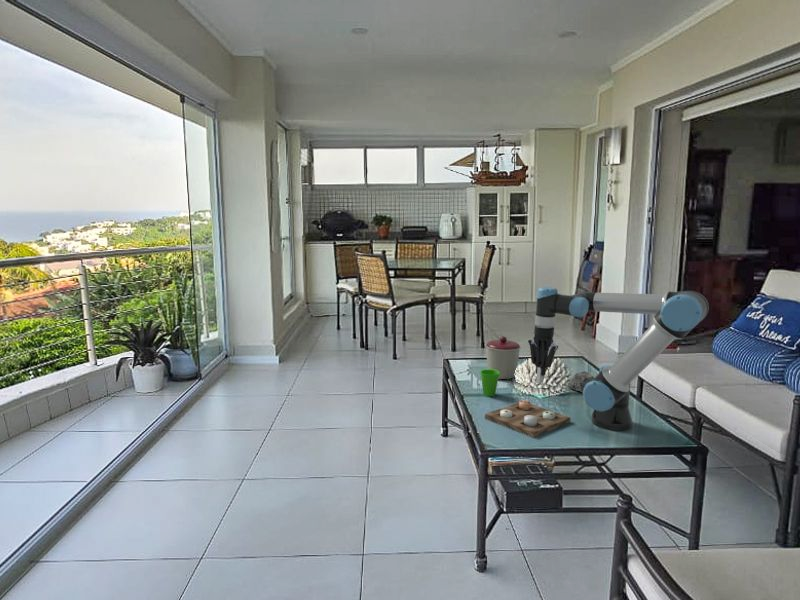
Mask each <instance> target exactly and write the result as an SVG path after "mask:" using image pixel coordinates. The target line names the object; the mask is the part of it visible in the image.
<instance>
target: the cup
mask: <svg viewBox="0 0 800 600" xmlns="http://www.w3.org/2000/svg"><path fill="white" fill-rule="evenodd" d="M479 373H480V378H481V383H482V391H483V392H482V393H483V395H485V397H487V396H493V397H494V396H495V395H496V391H497V386H498V381H499V379H498V377H499V374H500V372H499V371H497V370H493V369H488V368H484V369H480V371H479Z"/></svg>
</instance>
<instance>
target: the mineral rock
mask: <svg viewBox="0 0 800 600" xmlns="http://www.w3.org/2000/svg"><path fill="white" fill-rule="evenodd" d="M569 378H570V381H569V383H568V386H567V387H568V388H569V389H571V390H574V391H577V392H580V393H583V389H584V387H585V386H586V384H587V383H588V382H590V381H592V380H593V379H594V378H595V377H594V375H593V374H589V373H588V371H586V370H583V371H580V372H577V373H575V374H574V376H571V377H569Z"/></svg>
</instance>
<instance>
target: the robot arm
mask: <svg viewBox="0 0 800 600" xmlns="http://www.w3.org/2000/svg"><path fill="white" fill-rule="evenodd" d="M709 307H710V306H709V302H708V300H707V298H706V297H705V296H704V295H703V294H701V293H700V292H697V291H693V290H684V291H683V290H682V291H667V292H666V293H665V294H664V293H663V294H661V293H660V294H659V293H628V292H627V293H625V292H594V291H589V290H585V291H580V292H578V293H575V294H571V295H567V294H562V293H561V294H560V293H558V289H557V288H556V287H552V286H541V287H539V288H538V290H537V297H536V305H535V308H536V309H535V317H534V329H533V330H534V332H533V334H534V336H533V338H532V339H528V340H527V342H528V344H529V349H530V351H529V352H530V357H531V359H530V360H531V364H533V365H534V366H535V375H536V380H535V381H536V384H542V383H544V378H545V376H546V374H547V373H546V371H547V369H548V368H550V367H552V364H553V361H554V357H555V354H556V352H557V350H558V349H559V345H556V344H555V343H554V338H553V337H554V333H555V322H556V314H559V315H565V316H570V317H573V318H574V317H575V318H584V317H585V316H586V315H587V314H588V313H589V312H605V313H621V314H638V315H653V323H652V324H651V325H650V326H649V327H648V328H647V329H646V330H645V331H644V333H642V334H641V335H640V337H638V339H636V340H635V342H633V344H632V345H631V346H630V347H628V348H627V350H626V351H625V352H624V353H623V354H622V355H621V356H620V357H619V358H618V359H617V360H616V361H615V362H614V363H613V364H612V365H602V366H600V367H599V370H598V374H596V376H595V377H594V379H593V380H592V381H590V382H588V383H587V384H586V386H585V387H584V389H583V392H582V396H583V400H584V402H585V404H586V405H587V406H588V407H589V408H590V409H592V410H593V412H592V414H591V420H590V421H591V423H592V424H593V425H595V426H597V427H599V428H601V429H606V430H609V431H626V430H627V429H628V430H630V429H631V428H632V427H633V418H632V415H631V411H630V408H629V406H630V405H629V404H630V393H631V383H632V382H633V381H634V380H635V379H636V378H637V377H638V376H639V375H640V374H641V373H642V372H643V371H644V370H645V369H646V368H647V367H648V366H650V364H651V363H652V362H654V361H655V359H656V358H657V357H658V356H659V355H660V354H661V353H663V351H664V350H665V349H667V347H669V346H670V344H671V343H673V342H674V341H675V340H683V338H685V337H686V336H687V335H688V334H689V333H690V332H691V331H692V330H693V329H694V328H695V327H696V326H698V325H699V323H701V322H702V321H703V320H704V319H705V318H706V317H707V315H708V313H709V309H710V308H709ZM629 428H630V429H629Z"/></svg>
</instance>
